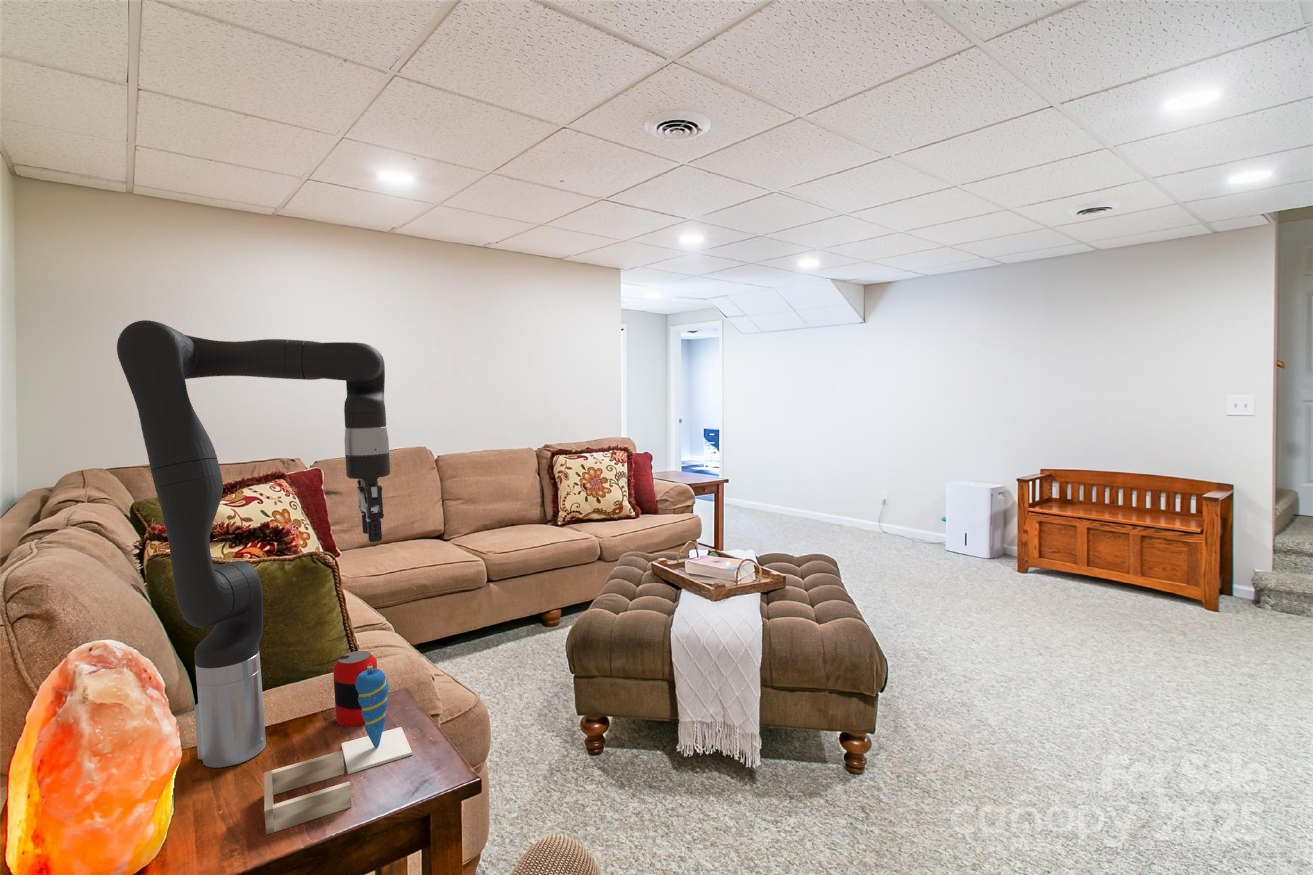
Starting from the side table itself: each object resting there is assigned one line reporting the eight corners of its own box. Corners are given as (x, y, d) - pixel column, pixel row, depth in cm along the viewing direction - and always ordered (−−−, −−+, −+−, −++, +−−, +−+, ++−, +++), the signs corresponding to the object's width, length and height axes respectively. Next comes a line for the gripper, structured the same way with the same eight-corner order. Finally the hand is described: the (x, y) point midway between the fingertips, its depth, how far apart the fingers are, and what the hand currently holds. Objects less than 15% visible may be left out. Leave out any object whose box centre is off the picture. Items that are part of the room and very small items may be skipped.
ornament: (379, 756, 109) (374, 670, 108) (352, 753, 110) (347, 668, 109) (397, 740, 114) (392, 657, 113) (371, 738, 115) (366, 656, 114)
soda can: (345, 709, 127) (341, 650, 126) (384, 706, 127) (381, 647, 126) (329, 729, 119) (325, 666, 118) (372, 726, 120) (368, 663, 119)
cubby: (266, 834, 91) (264, 811, 90) (265, 793, 100) (264, 772, 100) (351, 806, 96) (350, 784, 96) (343, 770, 106) (342, 750, 105)
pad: (348, 774, 105) (347, 771, 105) (341, 745, 113) (341, 743, 113) (412, 754, 110) (412, 752, 110) (401, 729, 118) (401, 726, 118)
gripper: (395, 452, 115) (399, 541, 117) (383, 447, 128) (387, 527, 129) (349, 455, 112) (354, 547, 113) (341, 450, 124) (346, 532, 125)
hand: (372, 536), depth 121 cm, fingers open, 8 cm apart
